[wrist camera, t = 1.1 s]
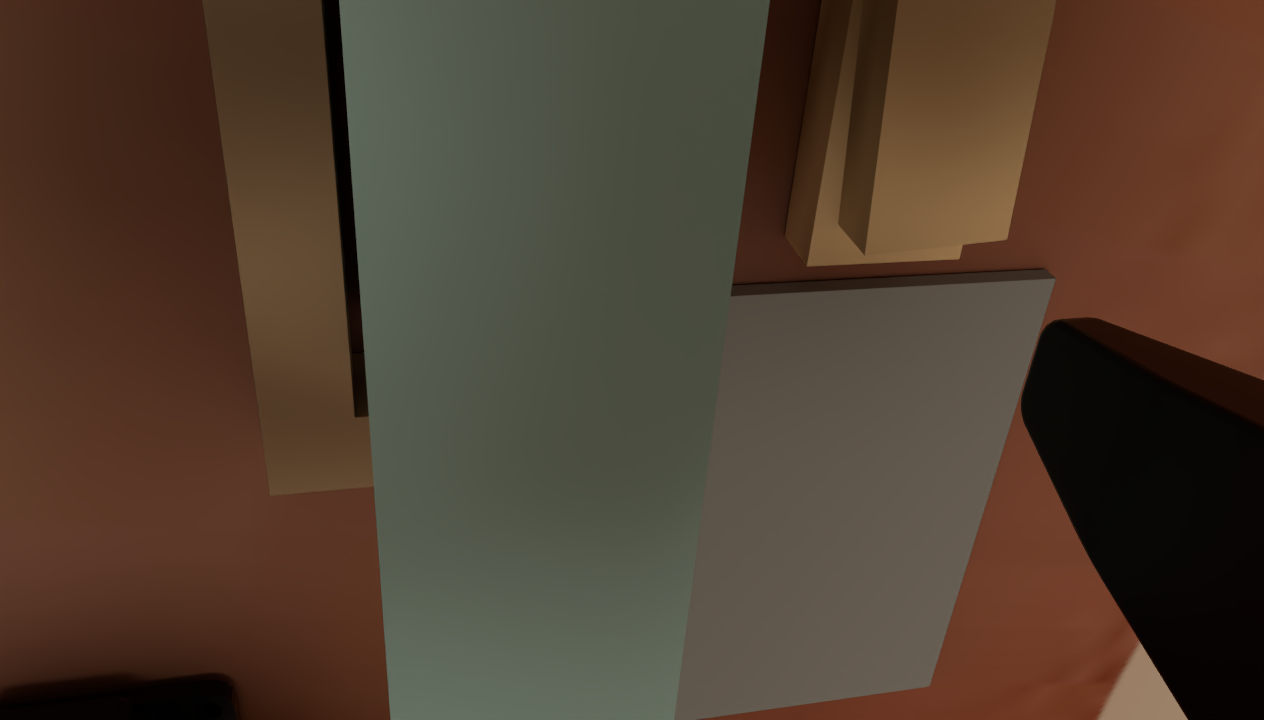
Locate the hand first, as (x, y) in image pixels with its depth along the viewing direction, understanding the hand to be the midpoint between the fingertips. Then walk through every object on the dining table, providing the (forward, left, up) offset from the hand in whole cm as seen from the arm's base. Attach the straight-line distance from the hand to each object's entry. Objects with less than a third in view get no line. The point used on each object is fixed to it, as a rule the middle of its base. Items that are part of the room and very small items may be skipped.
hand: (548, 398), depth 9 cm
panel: (0, 0, -10) cm, 10 cm away
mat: (-11, -8, -10) cm, 17 cm away
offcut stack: (0, -8, -10) cm, 13 cm away
